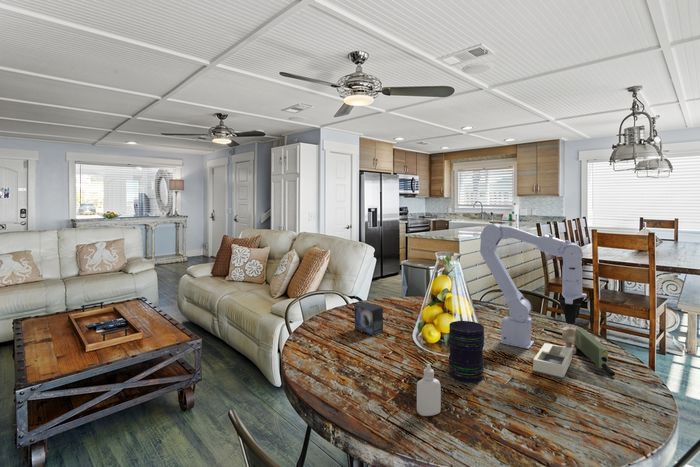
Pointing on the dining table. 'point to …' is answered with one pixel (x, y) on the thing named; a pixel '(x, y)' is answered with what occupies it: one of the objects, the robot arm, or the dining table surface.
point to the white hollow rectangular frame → (553, 360)
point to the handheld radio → (593, 349)
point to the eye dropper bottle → (428, 394)
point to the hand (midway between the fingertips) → (572, 320)
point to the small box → (368, 318)
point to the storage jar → (466, 351)
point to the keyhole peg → (569, 337)
